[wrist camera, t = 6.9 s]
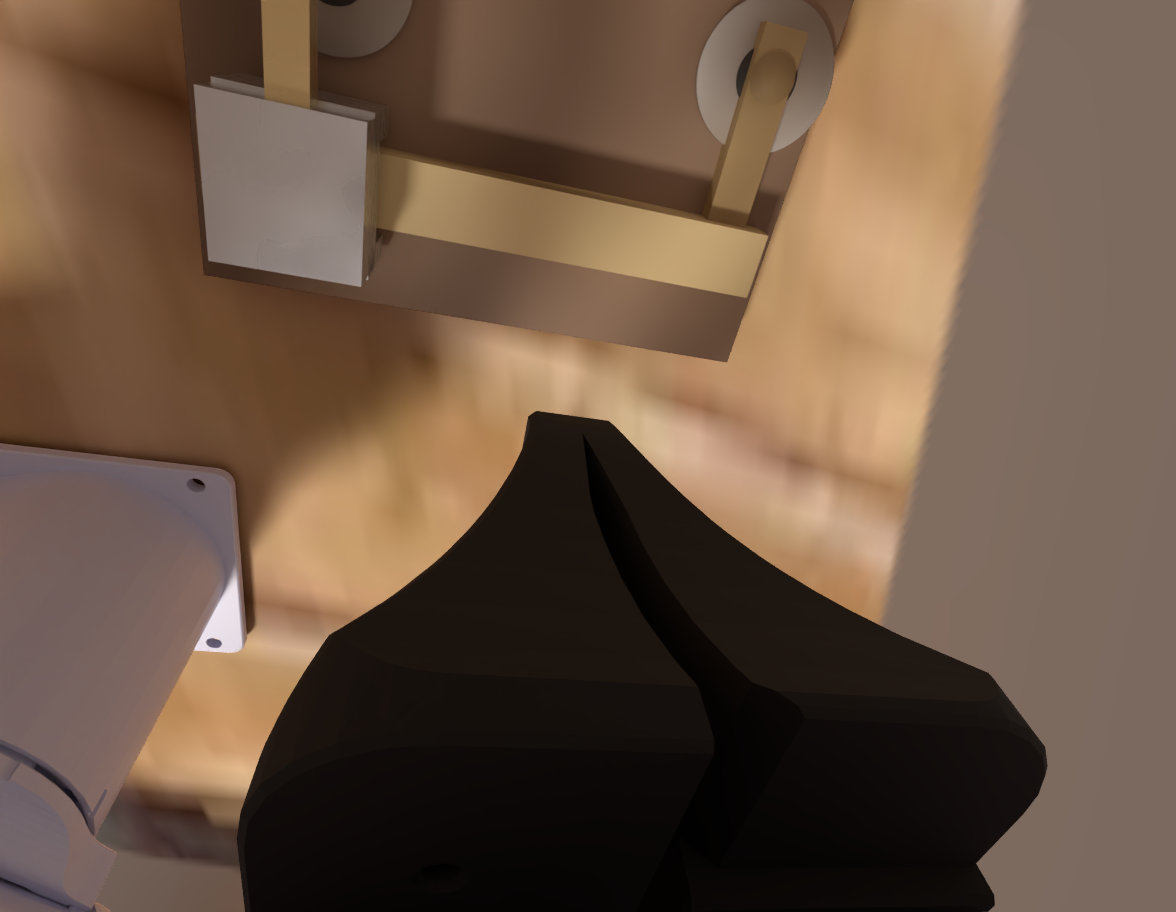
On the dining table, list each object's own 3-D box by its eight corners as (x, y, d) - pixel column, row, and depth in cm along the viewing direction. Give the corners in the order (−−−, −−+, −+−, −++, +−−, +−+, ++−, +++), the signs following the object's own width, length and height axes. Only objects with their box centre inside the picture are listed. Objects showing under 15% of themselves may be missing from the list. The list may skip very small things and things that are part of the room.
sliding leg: (251, 234, 15) (208, 265, 13) (232, -157, 12) (169, -202, 10) (381, 258, 16) (361, 291, 14) (400, -108, 12) (377, -141, 10)
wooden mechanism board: (221, 261, 17) (187, 287, 15) (188, -196, 13) (132, -239, 11) (719, 346, 20) (740, 377, 18) (837, -3, 15) (882, -10, 14)
